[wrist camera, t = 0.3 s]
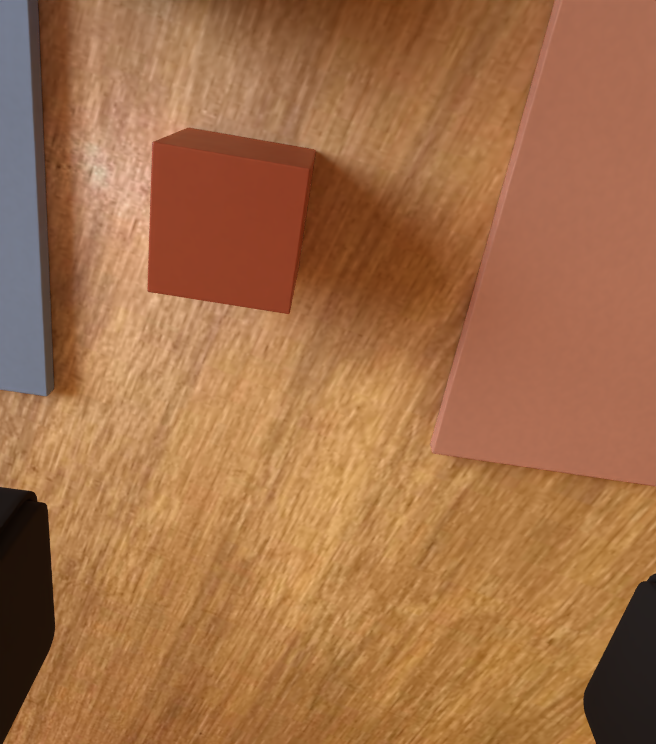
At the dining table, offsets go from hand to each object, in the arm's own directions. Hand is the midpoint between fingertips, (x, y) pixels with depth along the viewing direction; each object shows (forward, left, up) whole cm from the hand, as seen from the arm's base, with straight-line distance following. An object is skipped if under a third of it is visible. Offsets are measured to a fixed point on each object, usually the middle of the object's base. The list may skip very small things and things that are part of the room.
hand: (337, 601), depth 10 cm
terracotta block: (-2, -4, -18) cm, 19 cm away
